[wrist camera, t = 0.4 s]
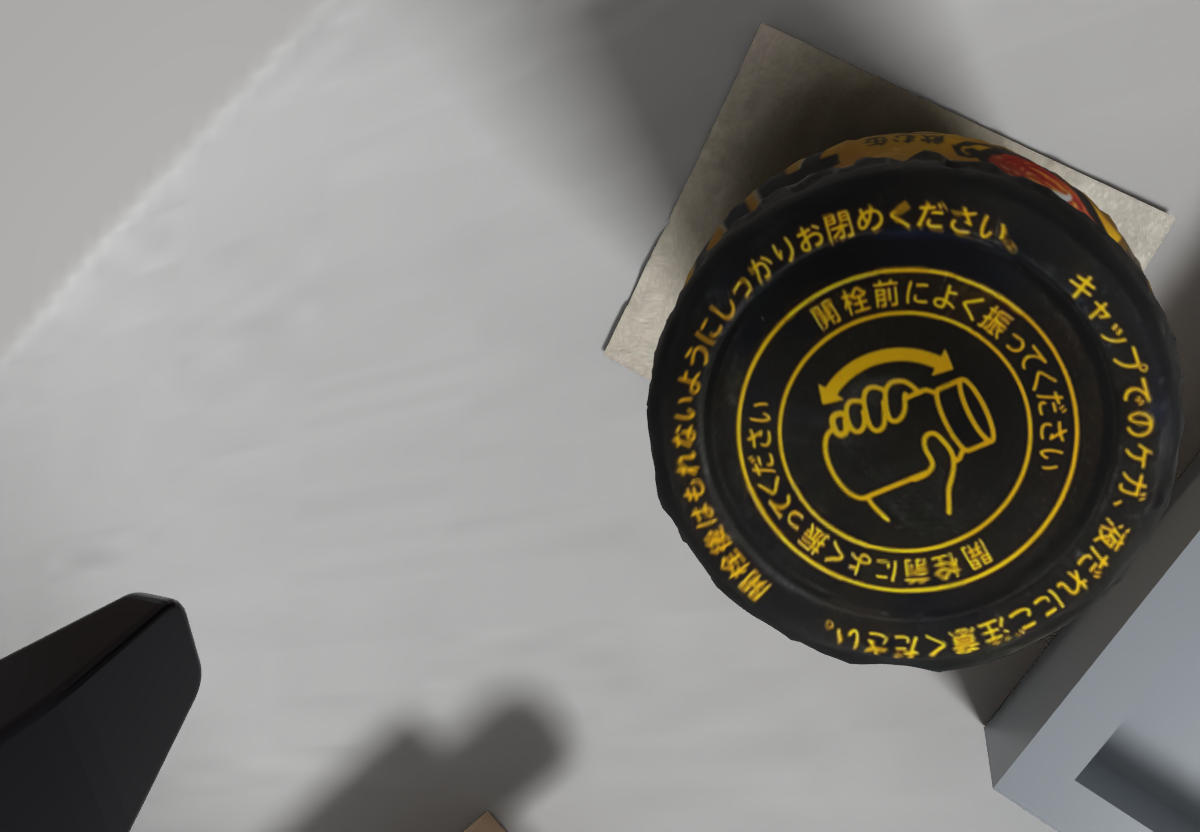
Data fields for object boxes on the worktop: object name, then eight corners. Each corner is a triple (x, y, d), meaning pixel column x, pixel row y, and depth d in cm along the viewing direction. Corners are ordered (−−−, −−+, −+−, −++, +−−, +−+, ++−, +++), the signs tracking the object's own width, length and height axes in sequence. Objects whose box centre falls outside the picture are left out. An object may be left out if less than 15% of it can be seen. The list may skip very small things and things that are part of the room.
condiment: (971, 548, 23) (1033, 883, 11) (605, 353, 24) (332, 479, 13) (1174, 217, 21) (1492, 224, 9) (763, 24, 22) (609, -176, 11)
